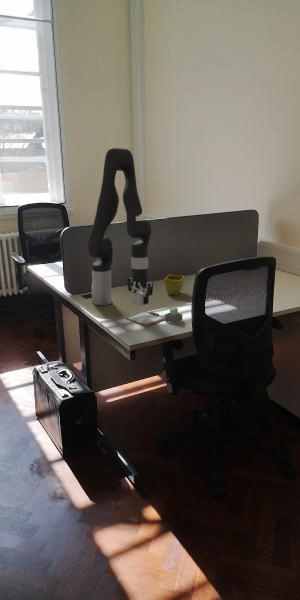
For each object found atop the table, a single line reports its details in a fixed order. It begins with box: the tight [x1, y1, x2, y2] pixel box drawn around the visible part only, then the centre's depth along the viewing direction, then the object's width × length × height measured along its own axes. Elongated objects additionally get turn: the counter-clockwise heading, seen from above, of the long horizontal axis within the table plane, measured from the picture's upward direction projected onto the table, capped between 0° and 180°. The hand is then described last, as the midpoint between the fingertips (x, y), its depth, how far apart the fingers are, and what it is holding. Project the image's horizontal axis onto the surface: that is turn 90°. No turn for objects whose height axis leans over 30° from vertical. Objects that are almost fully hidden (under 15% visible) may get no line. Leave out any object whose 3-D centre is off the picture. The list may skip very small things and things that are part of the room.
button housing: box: [164, 312, 183, 324], centre depth 194 cm, size 6×6×3 cm
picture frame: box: [124, 310, 165, 328], centre depth 196 cm, size 14×13×1 cm
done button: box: [169, 307, 179, 317], centre depth 193 cm, size 4×4×4 cm
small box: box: [131, 291, 150, 307], centre depth 195 cm, size 6×6×5 cm
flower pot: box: [163, 274, 185, 296], centre depth 230 cm, size 9×9×9 cm
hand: (140, 302), depth 195 cm, fingers closed on small box, 6 cm apart
